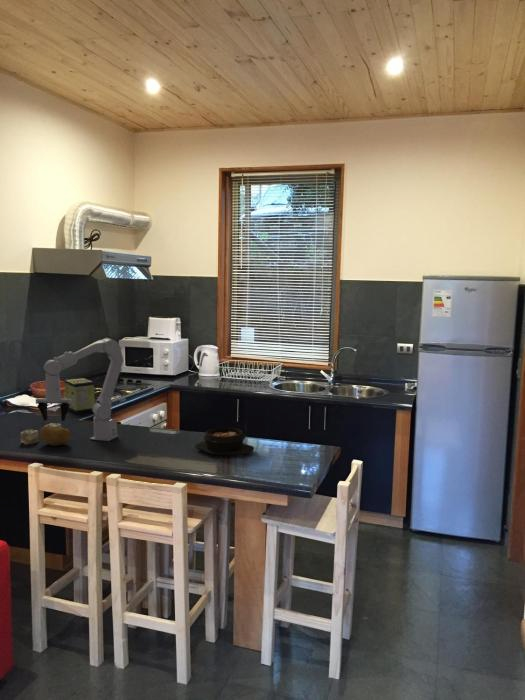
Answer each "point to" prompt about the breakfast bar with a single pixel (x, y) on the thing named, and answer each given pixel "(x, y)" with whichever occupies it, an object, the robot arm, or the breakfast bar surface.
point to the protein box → (80, 394)
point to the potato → (55, 435)
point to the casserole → (224, 442)
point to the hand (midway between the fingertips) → (54, 420)
